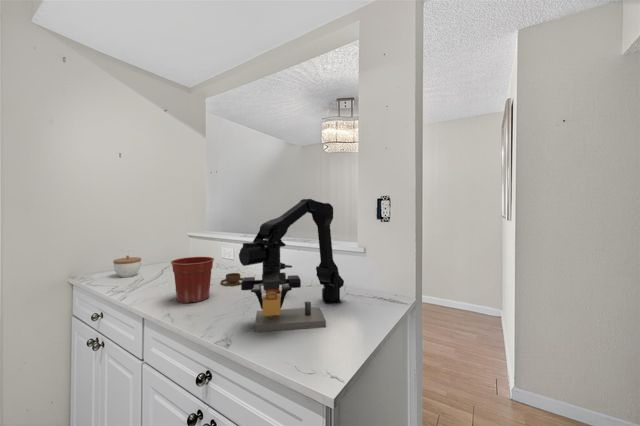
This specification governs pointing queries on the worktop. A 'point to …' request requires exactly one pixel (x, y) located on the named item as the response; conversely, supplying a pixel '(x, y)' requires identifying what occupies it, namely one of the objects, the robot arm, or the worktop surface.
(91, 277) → the worktop surface
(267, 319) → the grey peg board
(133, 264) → the lidded bowl
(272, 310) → the orange knobbed cube
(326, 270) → the robot arm
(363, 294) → the worktop surface
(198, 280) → the flower pot
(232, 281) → the brown cup and saucer
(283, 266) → the toy drill
